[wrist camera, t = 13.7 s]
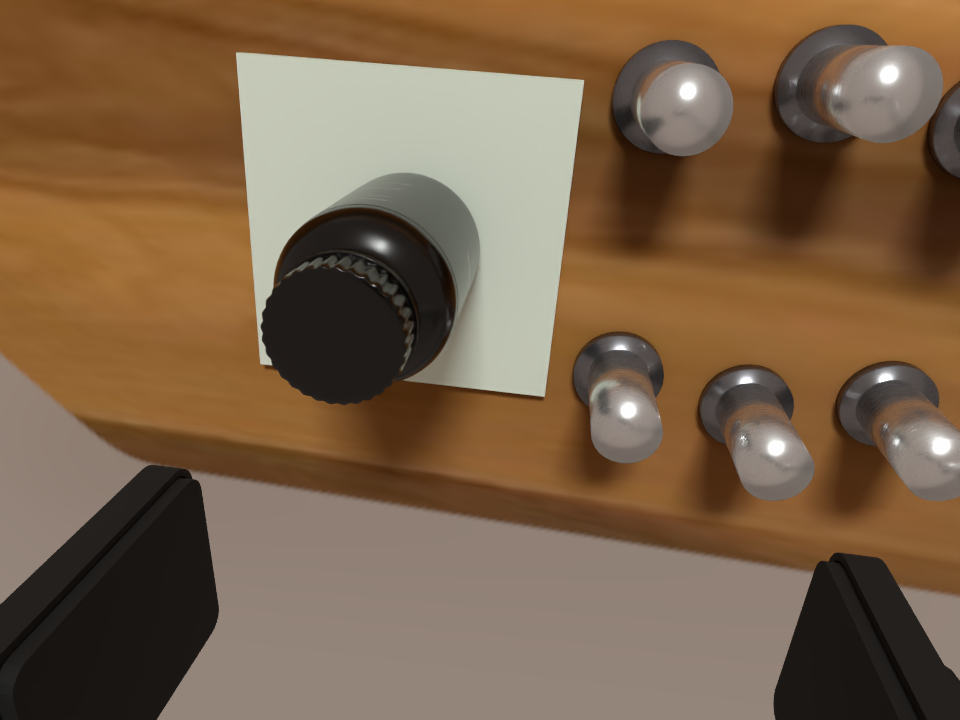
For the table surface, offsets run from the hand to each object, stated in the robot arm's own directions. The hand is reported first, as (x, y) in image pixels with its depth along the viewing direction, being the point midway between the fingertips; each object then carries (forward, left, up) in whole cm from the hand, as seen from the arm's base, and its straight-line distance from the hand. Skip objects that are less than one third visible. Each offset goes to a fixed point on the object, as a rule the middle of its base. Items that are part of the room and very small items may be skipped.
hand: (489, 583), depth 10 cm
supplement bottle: (+4, +5, -23) cm, 24 cm away
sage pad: (+4, +5, -24) cm, 25 cm away
